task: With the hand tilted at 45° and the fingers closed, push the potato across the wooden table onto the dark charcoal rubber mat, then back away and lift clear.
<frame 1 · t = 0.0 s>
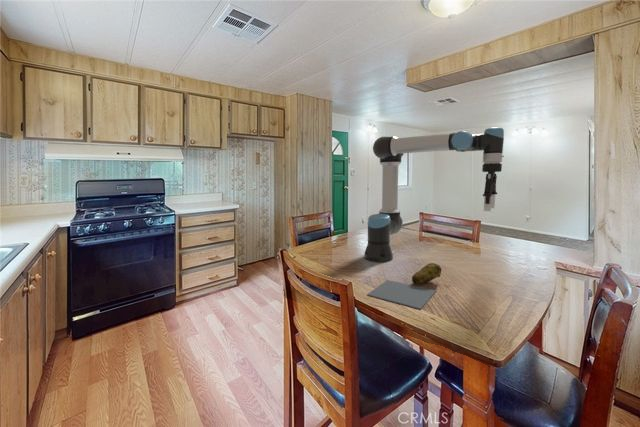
hand: (489, 209, 132), 28 cm above the table, tool pointing down, fingers open, 13 cm apart
mat: (401, 293, 108), on the table
potato: (425, 283, 119), on the table
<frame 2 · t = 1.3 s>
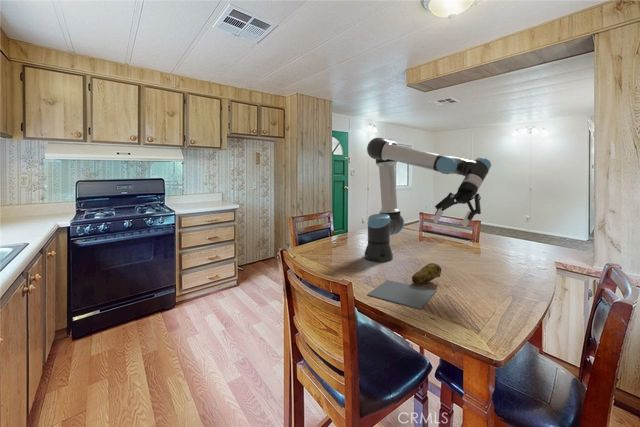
hand: (448, 223, 123), 24 cm above the table, tool tilted 45°, fingers open, 13 cm apart
nothing on the table moved.
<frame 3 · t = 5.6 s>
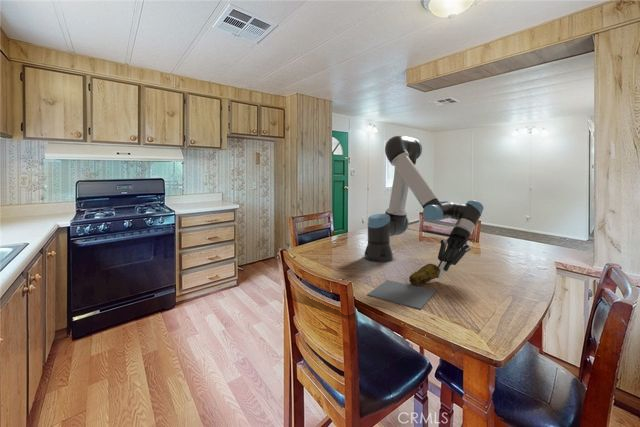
hand: (438, 276, 120), 2 cm above the table, tool tilted 45°, fingers closed
potato: (423, 283, 118), on the table, touching gripper
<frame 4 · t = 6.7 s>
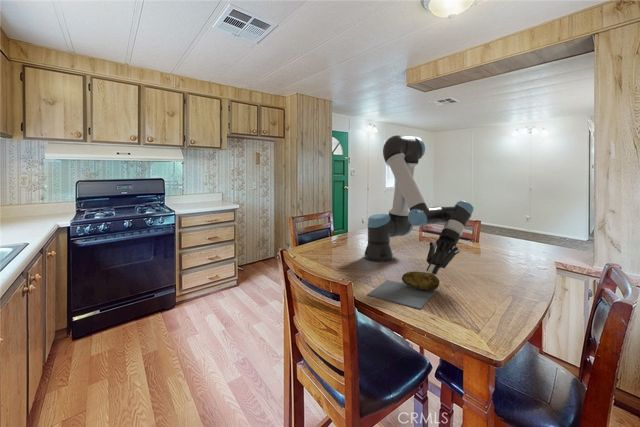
hand: (427, 279, 115), 3 cm above the table, tool tilted 45°, fingers closed
potato: (418, 282, 115), point 2 cm above the table, touching gripper, mat
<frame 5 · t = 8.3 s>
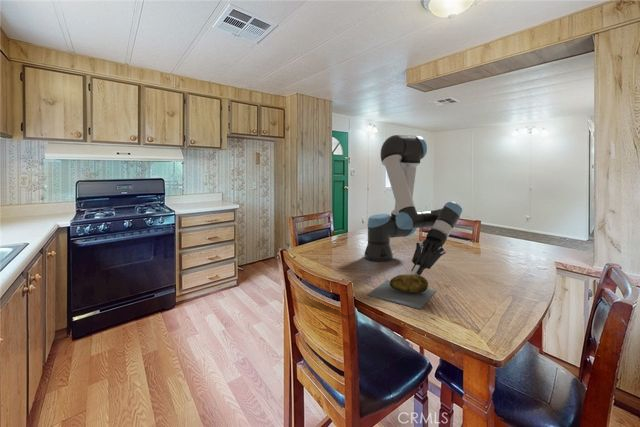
hand: (411, 280, 113), 3 cm above the table, tool tilted 45°, fingers closed
potato: (405, 285, 112), point 2 cm above the table, touching gripper, mat
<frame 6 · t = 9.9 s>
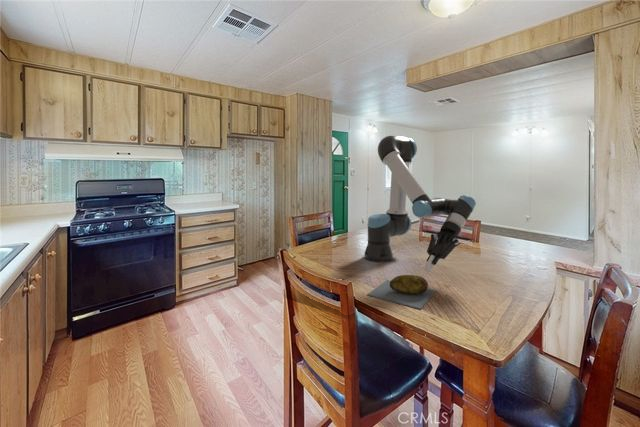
hand: (426, 269, 118), 6 cm above the table, tool tilted 45°, fingers closed
potato: (404, 284, 112), point 2 cm above the table, touching mat
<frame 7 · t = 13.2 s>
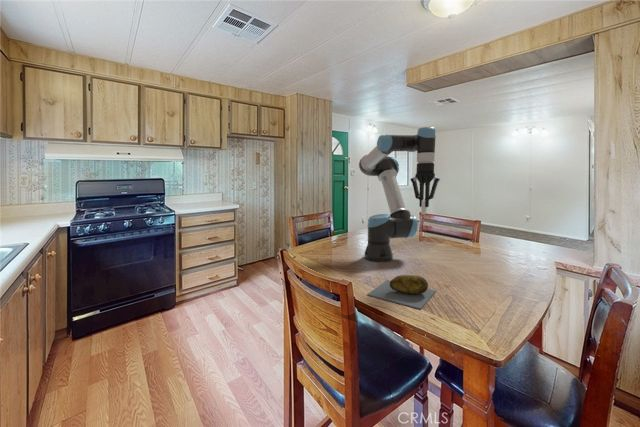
hand: (423, 214, 133), 26 cm above the table, tool pointing down, fingers closed
nothing on the table moved.
at the end: potato inside the target area on the mat (4.1 cm from its centre), point 2.0 cm above the mat's base; potato moved 12.8 cm from its start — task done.
